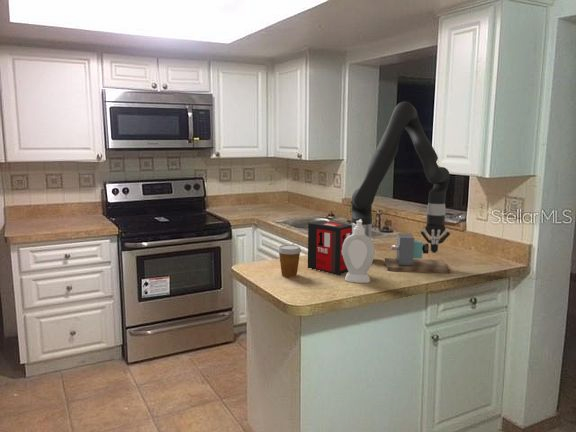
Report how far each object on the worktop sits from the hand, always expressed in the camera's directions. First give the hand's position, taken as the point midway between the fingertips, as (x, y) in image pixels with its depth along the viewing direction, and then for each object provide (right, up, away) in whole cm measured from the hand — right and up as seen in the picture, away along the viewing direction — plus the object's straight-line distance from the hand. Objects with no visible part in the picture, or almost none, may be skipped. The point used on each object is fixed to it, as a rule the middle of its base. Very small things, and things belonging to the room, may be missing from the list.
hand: (433, 252), depth 211 cm
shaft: (-10, 0, +1) cm, 11 cm away
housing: (-12, -5, +2) cm, 14 cm away
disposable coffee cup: (-64, -9, -12) cm, 65 cm away
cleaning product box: (-46, -7, -3) cm, 47 cm away
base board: (-7, -7, +2) cm, 10 cm away
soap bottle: (-36, -10, -18) cm, 42 cm away
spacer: (-7, -2, +1) cm, 8 cm away
